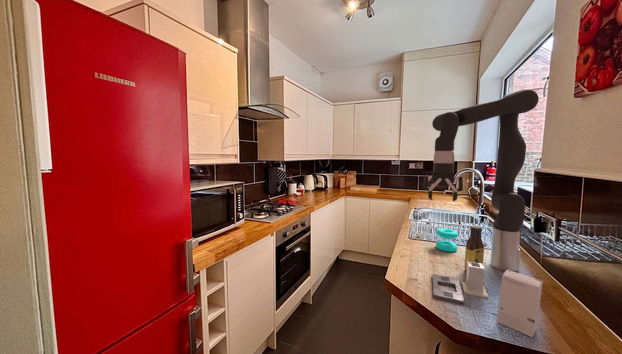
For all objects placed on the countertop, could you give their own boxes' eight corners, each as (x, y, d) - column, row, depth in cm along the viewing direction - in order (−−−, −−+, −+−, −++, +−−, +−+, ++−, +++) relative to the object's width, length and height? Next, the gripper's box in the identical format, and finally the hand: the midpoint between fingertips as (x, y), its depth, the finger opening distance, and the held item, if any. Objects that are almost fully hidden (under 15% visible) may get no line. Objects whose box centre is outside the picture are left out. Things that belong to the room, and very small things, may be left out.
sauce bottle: (476, 278, 95) (479, 230, 94) (460, 272, 101) (463, 226, 99) (485, 274, 98) (488, 227, 97) (469, 268, 104) (472, 223, 102)
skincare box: (496, 322, 71) (499, 274, 69) (502, 313, 74) (505, 268, 73) (535, 339, 64) (539, 286, 63) (539, 329, 68) (543, 279, 66)
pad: (483, 288, 89) (483, 286, 89) (488, 298, 82) (488, 296, 82) (461, 283, 92) (461, 281, 92) (464, 293, 85) (464, 291, 85)
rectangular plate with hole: (458, 281, 93) (458, 278, 93) (464, 304, 79) (464, 300, 79) (432, 276, 97) (432, 273, 97) (433, 297, 83) (433, 294, 83)
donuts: (432, 228, 128) (446, 226, 131) (431, 246, 129) (445, 244, 132) (448, 234, 118) (463, 232, 122) (447, 254, 119) (462, 251, 122)
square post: (480, 286, 88) (481, 263, 87) (483, 293, 84) (484, 268, 83) (465, 284, 90) (467, 260, 89) (467, 290, 86) (469, 265, 85)
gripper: (462, 161, 100) (460, 199, 101) (424, 161, 106) (423, 197, 107) (465, 162, 93) (463, 203, 95) (425, 162, 99) (423, 200, 100)
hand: (442, 200), depth 101 cm, fingers open, 8 cm apart
